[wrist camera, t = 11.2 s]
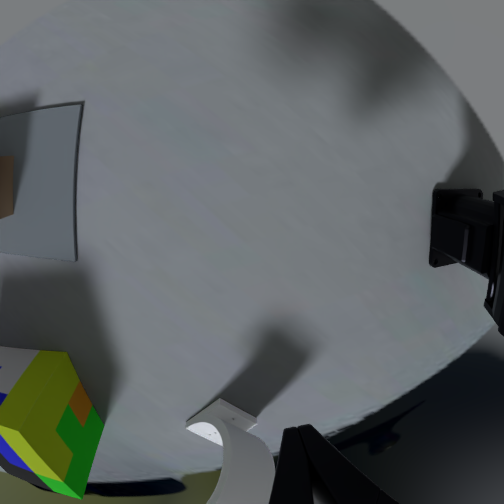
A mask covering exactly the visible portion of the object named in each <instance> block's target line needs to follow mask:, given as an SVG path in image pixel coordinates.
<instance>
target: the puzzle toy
mask: <svg viewBox="0 0 504 504" xmlns="http://www.w3.org/2000/svg"><path fill="white" fill-rule="evenodd" d="M103 428H104V424H103V422H102V421H101V419H100V417H99V416H98V414H97V412H96V410H95V408H94V407H93V405H92V403H91V401H90V399H89V397H88V395H87V394H86V392H85V390H84V388H83V386H82V384H81V382H80V380H79V378H78V375H77V373H76V371H75V369H74V367H73V365H72V363H71V360H70V358H69V356H68V353H67V352H59V351H44V350H32V349H21V348H12V347H3V346H0V466H1V467H2V468H3V469H4V470H5V471H6V472H7V473H9V474H11V475H13V476H16V477H18V478H20V479H22V480H25V481H27V482H30V483H32V484H35V485H38V486H40V487H43V488H46V489H49V490H52V491H55V492H58V493H61V494H64V495H68V496H71V497H74V498H78V499H83V495H84V492H85V488H86V484H87V481H88V477H89V473H90V470H91V467H92V463H93V460H94V457H95V453H96V450H97V447H98V444H99V441H100V438H101V434H102V431H103Z"/></svg>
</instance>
